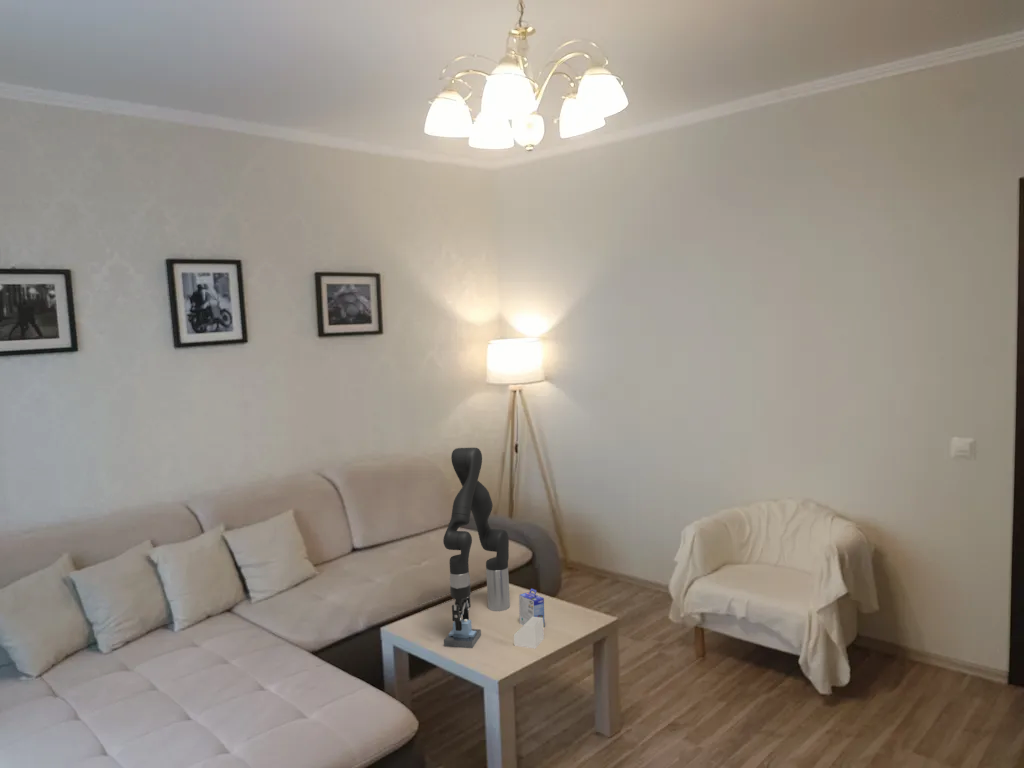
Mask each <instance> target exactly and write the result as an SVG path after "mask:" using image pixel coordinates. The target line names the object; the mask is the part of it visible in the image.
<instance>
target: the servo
mask: <svg viewBox="0 0 1024 768" xmlns="http://www.w3.org/2000/svg"><path fill="white" fill-rule="evenodd" d="M461 622H462V630H461V631H456V627H455V621H452V629H453V630H452V629H451V630H450V631H449V632H448V634H449V636H453V637H458V638H470V637H474V636H475V634H476V631H472V629H473V626H472V619H469V620H467V619H463V618H462V619H461Z"/></svg>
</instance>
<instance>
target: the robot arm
mask: <svg viewBox="0 0 1024 768" xmlns="http://www.w3.org/2000/svg"><path fill="white" fill-rule="evenodd" d="M450 459H451V465H452V467H453V469H454V472H455V474H456V476H457V478H458V479H459V482H460V483H461V486H462V487H461V488H460V490H459V491H458V492H457V494H456V496H455V497H454V500H453V505H452V509H451V510H452V512H451V517H450V520H449V523H448V525H447V528H446V531H445V532H444V536H443V539H442V540H443V545H444V547H445V549H447V550H449V551H460V553H459V554H454V555H453V556H451V557H450V558H449V588H450V597H451V598H452V599H454V604H452V605H451V613H452V614H451V616H452V622H454V621H455V627H456V631H461V630H462V622H461V619H467V620H470V616H469V612H470V609H471V593H472V592H471V578H470V567H469V566H470V565H469V557H470V551H471V547H472V542H473V537H472V535H471V533H470V532H468V531H467V530H458V529H459V528H460V527H464V526H467V525H469V524H470V520H471V514H472V516H473V519H474V523H475V526H476V530H477V534H478V538H479V542H480V546H481V548H482V549H483V550H484V551H487V552H494V553H496V556H493V557H491V558H488V559H487V560H486V562H485V569H486V571H485V572H486V573H485V574H486V589H487V590H486V592H487V608H488V610H490V611H492V612H504V611H507V610H508V609H510V608H511V601H510V600H511V597H510V581H509V579H510V578H509V557H510V556H509V554H510V551H509V546H510V544H509V541H510V540H509V539H510V537H509V533H508V531H506V530H505V529H499V528H491V527H490V524H489V519H490V518H489V517H490V516H491V513H492V510H493V500H492V497H491V495H490V492H489V490H488V489H487V488H486V486H485V485H483V484H482V482H480V480H479V477H480V473H481V468H482V465H483V464H482V463H483V454H482V451H481V449H480V448H478V447H458V448H454V449H453V450H452V452H451V458H450Z"/></svg>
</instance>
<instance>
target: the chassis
mask: <svg viewBox="0 0 1024 768" xmlns="http://www.w3.org/2000/svg"><path fill="white" fill-rule="evenodd" d="M451 630H453V628H452V629H451ZM472 631H476V634H475V636H474V637H470V638H458V637H453V636H449V633H448V634H447V635H446V637H444V639H443V646H444V647H450V648H462V649H464V648H465V649H473V648H474V647H475V646H476V644H477V642H479V639H480V638H481V636H482V629H478V628H476V629H475V628H472Z"/></svg>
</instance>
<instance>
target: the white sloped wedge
mask: <svg viewBox="0 0 1024 768" xmlns="http://www.w3.org/2000/svg"><path fill="white" fill-rule="evenodd" d="M544 632H545V630H544V628H543V618H540V617H531V619H530V620H529V621H527V622H526V623H525V624H524V625H521V627H520V628H519V629H518V630H517V631H516V632H515V633H514V634H513V645H514V646H516V647H521V648H529V649H535V650H536V649H537V648H538V646H539V645H540V644H541V643H542V642H543V641H544V640H545V635H544Z"/></svg>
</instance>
